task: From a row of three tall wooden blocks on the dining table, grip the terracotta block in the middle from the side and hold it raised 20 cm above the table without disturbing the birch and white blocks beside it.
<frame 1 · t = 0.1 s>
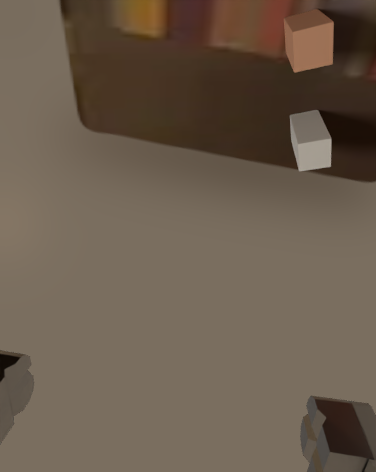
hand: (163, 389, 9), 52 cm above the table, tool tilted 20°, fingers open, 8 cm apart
terracotta block: (300, 31, 47), on the table
white block: (304, 125, 55), on the table
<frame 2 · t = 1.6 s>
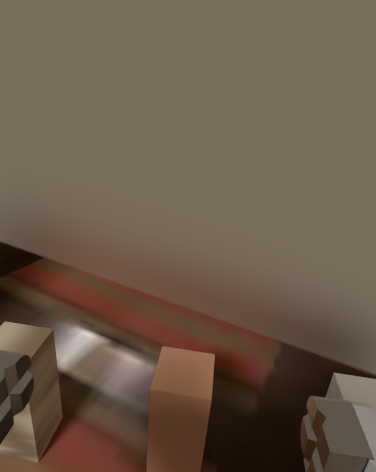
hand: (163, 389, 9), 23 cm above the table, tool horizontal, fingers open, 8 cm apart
birch block: (29, 434, 31), on the table
terracotta block: (175, 461, 30), on the table
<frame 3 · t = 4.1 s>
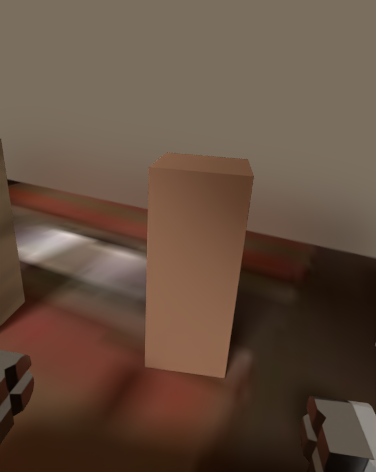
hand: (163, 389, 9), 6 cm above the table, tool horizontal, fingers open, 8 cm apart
terracotta block: (188, 344, 20), on the table
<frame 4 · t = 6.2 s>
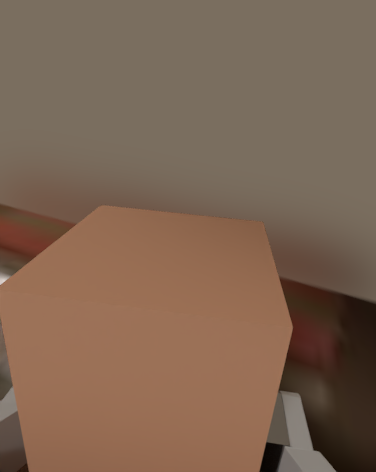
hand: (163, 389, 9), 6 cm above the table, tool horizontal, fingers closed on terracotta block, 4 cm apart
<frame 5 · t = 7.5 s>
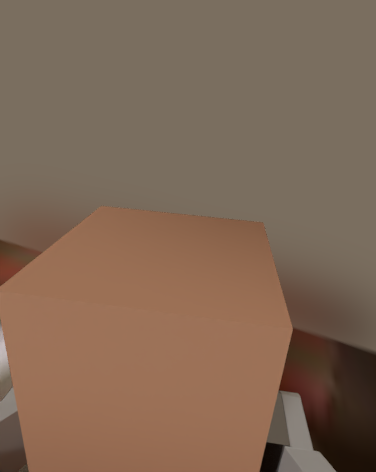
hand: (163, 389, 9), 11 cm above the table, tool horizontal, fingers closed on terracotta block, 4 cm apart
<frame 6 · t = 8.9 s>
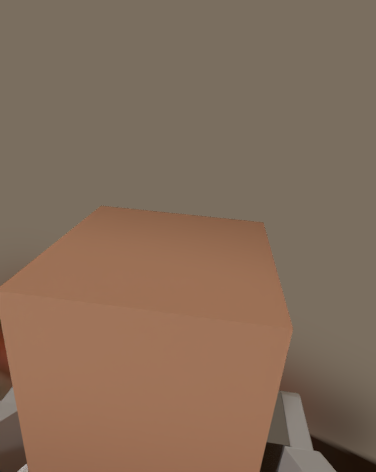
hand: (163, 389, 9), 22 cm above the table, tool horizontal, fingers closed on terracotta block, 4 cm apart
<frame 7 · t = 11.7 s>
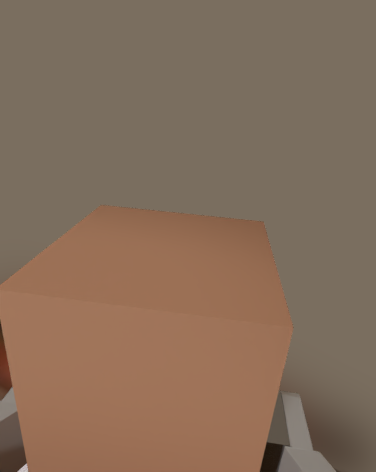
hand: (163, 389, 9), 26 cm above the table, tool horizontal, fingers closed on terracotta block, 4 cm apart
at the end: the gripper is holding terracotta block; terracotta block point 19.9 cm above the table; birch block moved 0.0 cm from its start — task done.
